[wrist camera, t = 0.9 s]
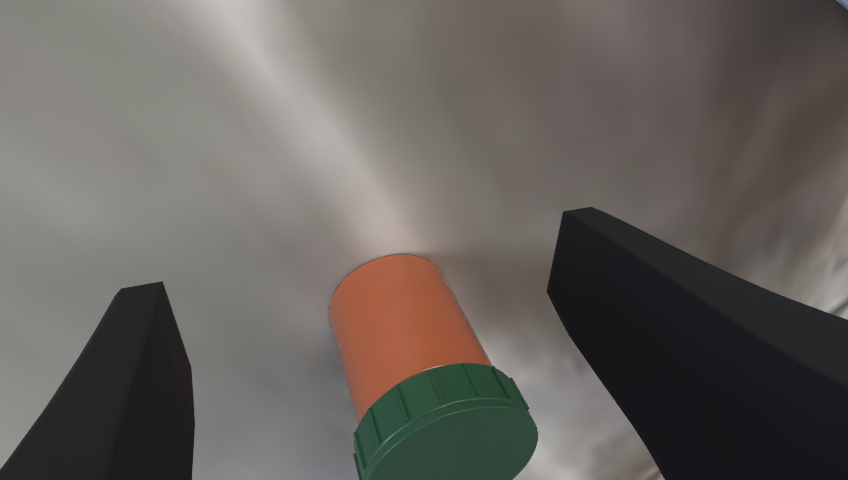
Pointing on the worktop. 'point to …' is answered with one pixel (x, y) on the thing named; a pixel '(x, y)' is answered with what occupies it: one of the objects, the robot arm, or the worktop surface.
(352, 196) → the worktop surface
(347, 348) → the jar
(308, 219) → the worktop surface
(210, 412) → the worktop surface
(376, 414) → the jar lid
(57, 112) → the worktop surface
